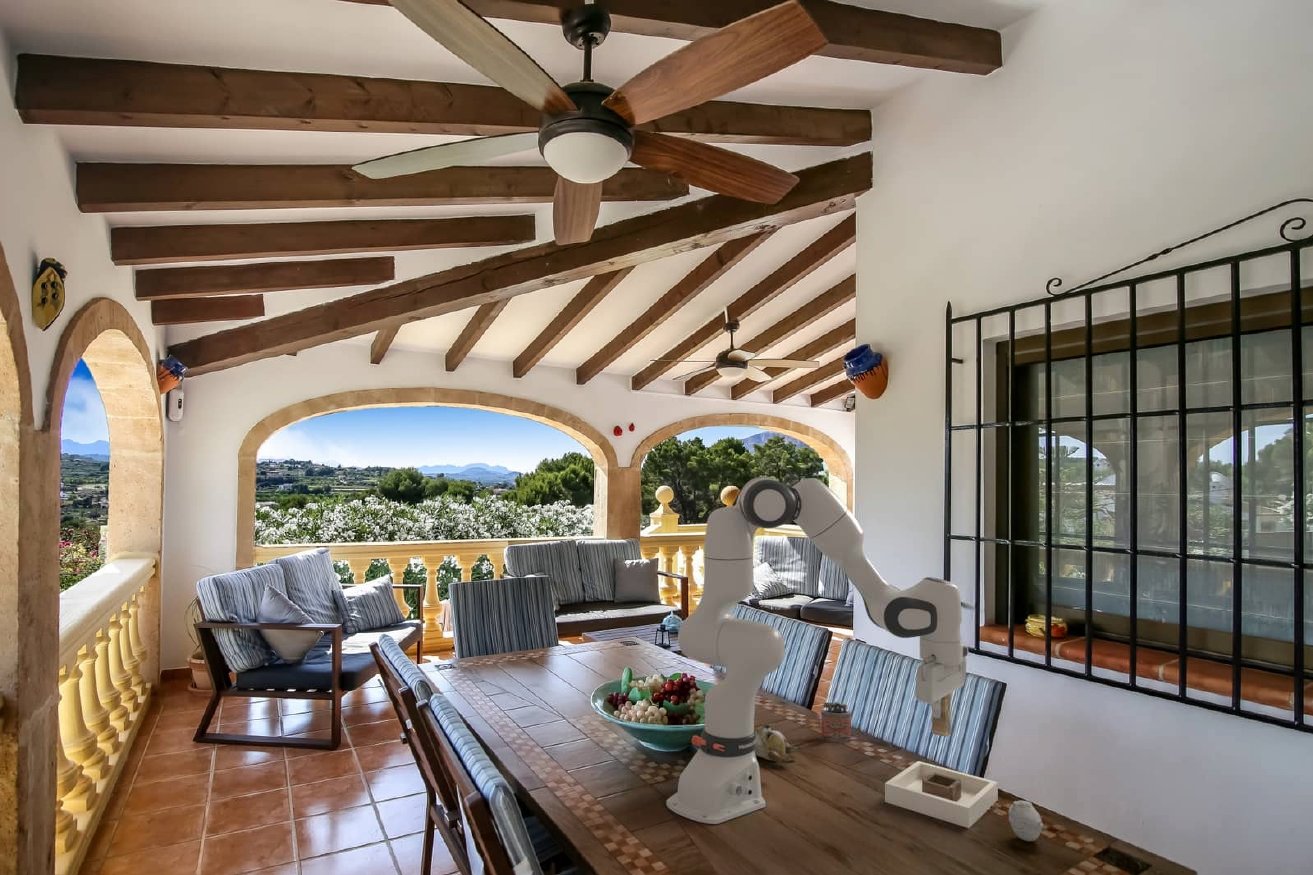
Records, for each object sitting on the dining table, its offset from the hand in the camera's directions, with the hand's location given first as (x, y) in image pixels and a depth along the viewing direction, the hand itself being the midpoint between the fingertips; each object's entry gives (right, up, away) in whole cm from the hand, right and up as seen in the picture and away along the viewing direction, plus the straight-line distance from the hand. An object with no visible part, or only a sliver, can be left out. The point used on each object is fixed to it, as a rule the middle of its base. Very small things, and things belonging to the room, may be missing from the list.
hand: (941, 714), depth 166 cm
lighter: (-14, -21, +37) cm, 45 cm away
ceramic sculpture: (-35, -20, +23) cm, 46 cm away
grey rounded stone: (+10, -18, -18) cm, 27 cm away
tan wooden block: (0, -4, 0) cm, 4 cm away
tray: (0, -19, -1) cm, 19 cm away
